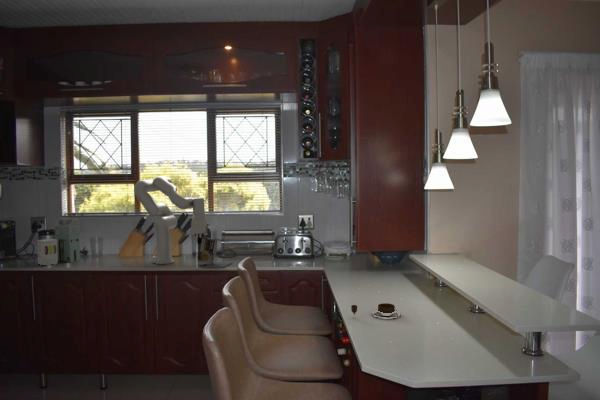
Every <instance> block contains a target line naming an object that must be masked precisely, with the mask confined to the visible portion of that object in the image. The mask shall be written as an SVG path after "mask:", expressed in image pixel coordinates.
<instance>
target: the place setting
mask: <svg viewBox="0 0 600 400" xmlns="http://www.w3.org/2000/svg"><path fill="white" fill-rule="evenodd" d="M350 307H351V308H350V309H351V312H352V314H355V315H356V313H357V312H358V305H356V304H352V305H350ZM377 309H378V311H380V312H383V313H392V312H394V311H395V310H396V306H395V305H394V304H392V303H380V304H378V305H377Z"/></svg>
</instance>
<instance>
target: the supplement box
mask: <svg viewBox="0 0 600 400" xmlns="http://www.w3.org/2000/svg"><path fill="white" fill-rule="evenodd" d="M36 242H37V244H36V245H37V246H36V247H37V248H36V249H37V265H38V264H40V265H39V266H42V265H47V266H51V265H50V264H54V265H58V264H57V263H58V256H57V240H56V239H55V238H48V239H47V238H46V239H45V238H44V239H37V240H36Z"/></svg>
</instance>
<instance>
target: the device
mask: <svg viewBox="0 0 600 400" xmlns="http://www.w3.org/2000/svg"><path fill="white" fill-rule="evenodd" d="M54 239H56V240H57V256H58V261H59V262H63V261H66V263H70V262H72V263H76V262H81V250H80V249H81V248H80V247H81V246H80V245H81V244H80V222H79V218H76V217H75V218H74V217H60V218H58V220H57V221H56V222H55V224H54Z"/></svg>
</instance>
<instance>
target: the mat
mask: <svg viewBox="0 0 600 400" xmlns="http://www.w3.org/2000/svg"><path fill="white" fill-rule="evenodd" d="M232 264H233V262H229V261H225V262H223V261H213V263H212V264H211V265H210V264H207V265H205V266H203V268H207V269H224V268H225V267H228V266H230V265H232Z"/></svg>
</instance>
